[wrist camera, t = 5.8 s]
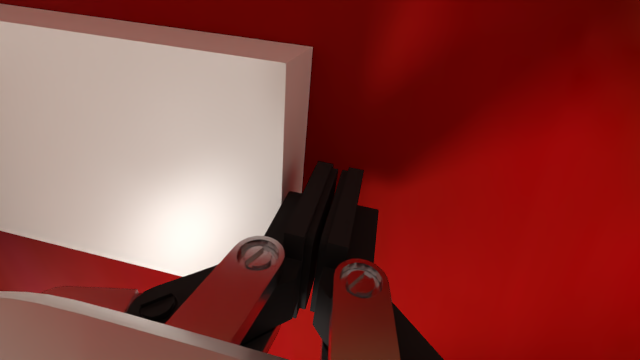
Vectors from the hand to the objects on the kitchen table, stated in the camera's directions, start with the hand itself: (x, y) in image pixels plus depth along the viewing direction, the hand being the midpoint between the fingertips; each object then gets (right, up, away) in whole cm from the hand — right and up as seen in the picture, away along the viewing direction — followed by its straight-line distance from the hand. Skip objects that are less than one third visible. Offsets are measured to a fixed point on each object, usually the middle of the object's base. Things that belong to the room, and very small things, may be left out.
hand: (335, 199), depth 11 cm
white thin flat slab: (-9, +3, +3) cm, 10 cm away
